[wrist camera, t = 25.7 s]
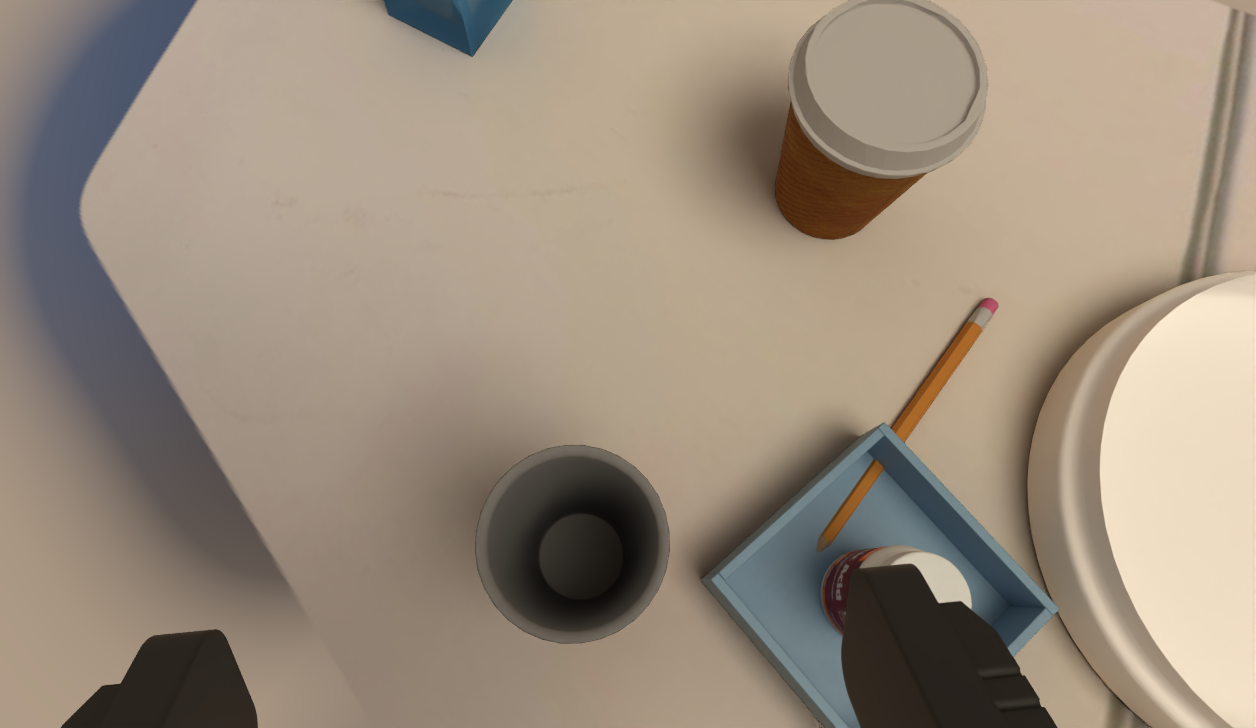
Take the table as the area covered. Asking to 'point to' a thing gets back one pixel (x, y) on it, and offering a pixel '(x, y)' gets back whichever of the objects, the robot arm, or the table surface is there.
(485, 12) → the perfume bottle
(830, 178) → the disposable coffee cup
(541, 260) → the table surface
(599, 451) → the cup
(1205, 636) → the white round tray
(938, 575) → the pill bottle
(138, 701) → the robot arm
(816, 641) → the open blue box
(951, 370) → the pencil
